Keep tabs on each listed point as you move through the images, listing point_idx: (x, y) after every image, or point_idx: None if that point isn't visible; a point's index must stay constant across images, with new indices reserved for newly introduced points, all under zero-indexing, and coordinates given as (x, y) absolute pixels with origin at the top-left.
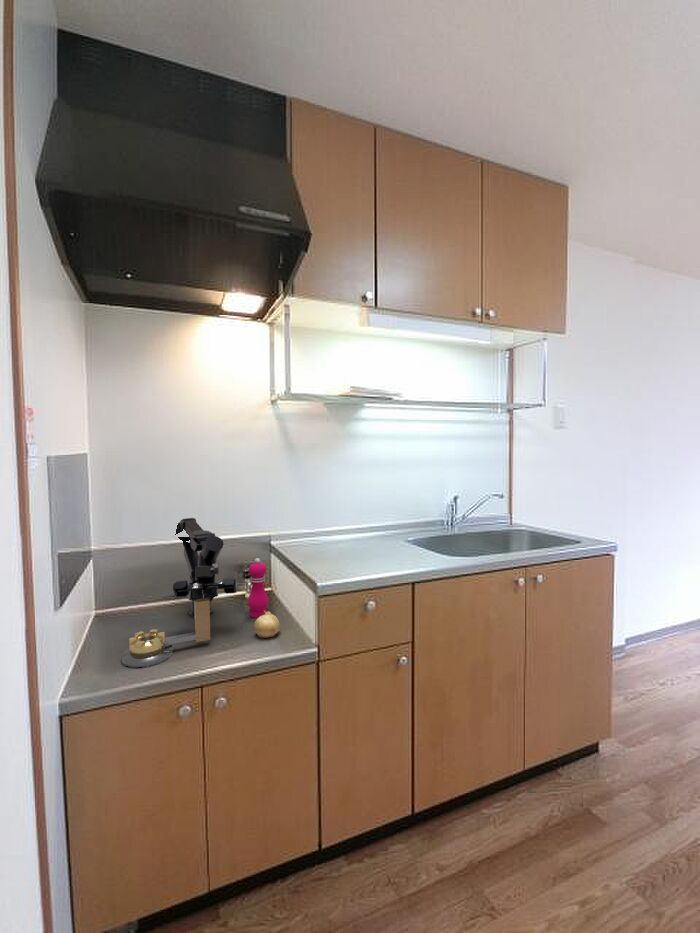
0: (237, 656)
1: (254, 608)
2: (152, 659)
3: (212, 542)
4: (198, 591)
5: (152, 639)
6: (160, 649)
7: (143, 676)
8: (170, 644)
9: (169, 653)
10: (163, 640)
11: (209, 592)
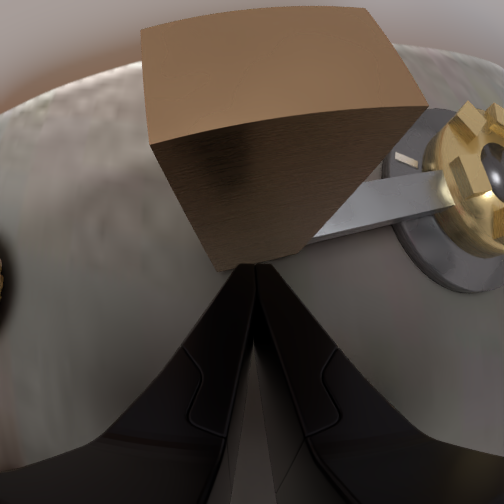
0: (101, 114)
1: None
2: (429, 116)
3: None
4: (445, 471)
5: (481, 123)
6: (430, 144)
7: (413, 73)
8: (411, 229)
9: (389, 155)
10: (444, 152)
11: (130, 466)
